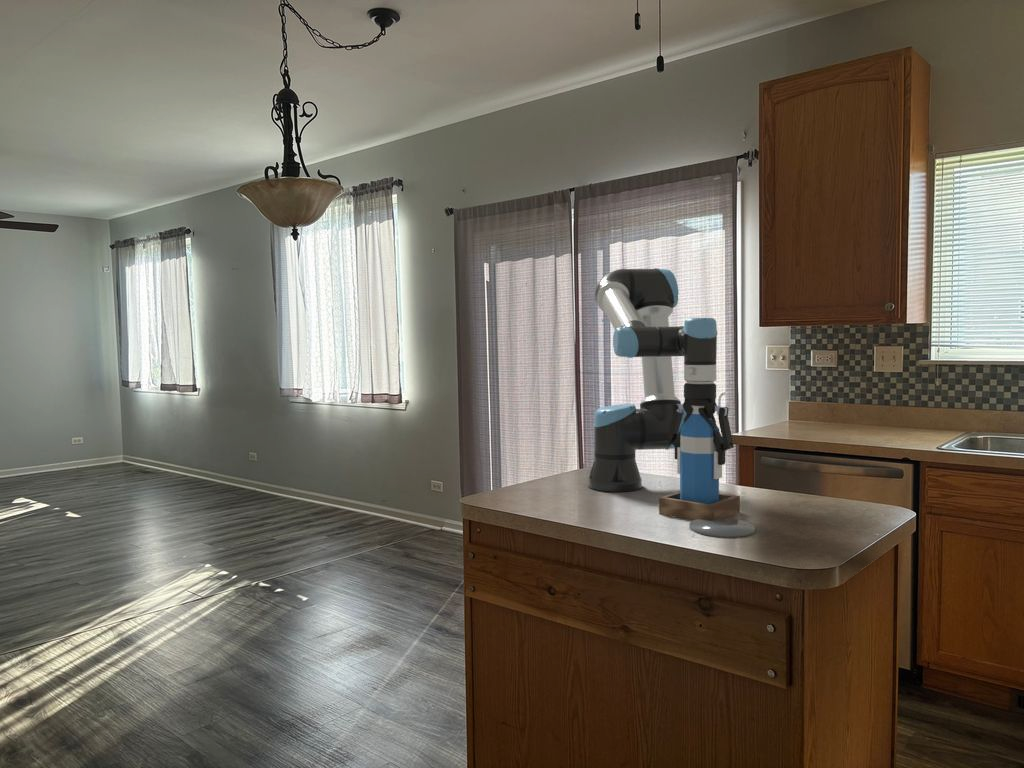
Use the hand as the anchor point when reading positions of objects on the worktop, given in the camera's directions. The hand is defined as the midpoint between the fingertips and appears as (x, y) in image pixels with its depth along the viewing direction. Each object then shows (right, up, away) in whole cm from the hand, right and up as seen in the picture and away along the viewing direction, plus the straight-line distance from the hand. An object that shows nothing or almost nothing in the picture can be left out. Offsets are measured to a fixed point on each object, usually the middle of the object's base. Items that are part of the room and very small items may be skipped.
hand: (699, 475), depth 176 cm
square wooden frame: (0, -9, 0) cm, 9 cm away
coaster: (+1, -10, -15) cm, 18 cm away
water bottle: (0, -8, +1) cm, 8 cm away
